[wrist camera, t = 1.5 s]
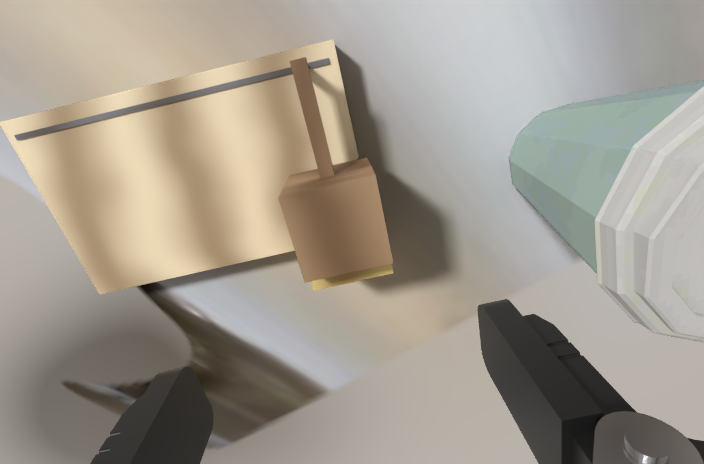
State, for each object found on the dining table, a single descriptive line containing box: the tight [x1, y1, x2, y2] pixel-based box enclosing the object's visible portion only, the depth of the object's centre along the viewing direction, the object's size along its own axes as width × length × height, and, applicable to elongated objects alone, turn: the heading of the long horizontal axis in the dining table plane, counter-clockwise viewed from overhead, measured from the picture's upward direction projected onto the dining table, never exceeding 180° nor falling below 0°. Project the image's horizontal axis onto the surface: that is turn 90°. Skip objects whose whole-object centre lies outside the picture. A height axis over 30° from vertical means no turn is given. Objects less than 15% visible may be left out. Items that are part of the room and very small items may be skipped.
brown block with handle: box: [278, 57, 394, 290], centre depth 21 cm, size 5×13×7 cm, turn 13°
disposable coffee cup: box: [509, 80, 704, 342], centre depth 18 cm, size 11×11×15 cm
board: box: [0, 40, 359, 294], centre depth 23 cm, size 20×12×2 cm, turn 103°
